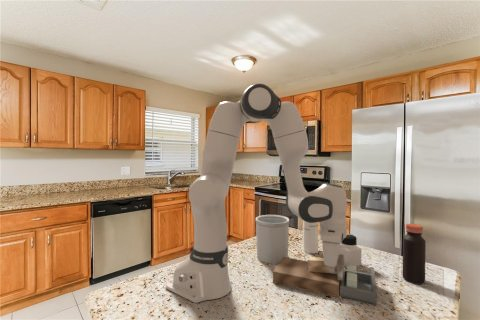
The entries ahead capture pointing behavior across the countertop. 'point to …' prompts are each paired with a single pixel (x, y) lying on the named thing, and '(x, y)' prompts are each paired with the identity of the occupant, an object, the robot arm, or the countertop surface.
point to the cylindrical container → (310, 237)
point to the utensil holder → (272, 238)
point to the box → (360, 288)
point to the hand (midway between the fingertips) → (332, 269)
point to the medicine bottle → (350, 251)
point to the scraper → (319, 266)
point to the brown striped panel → (305, 277)
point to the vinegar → (414, 254)
